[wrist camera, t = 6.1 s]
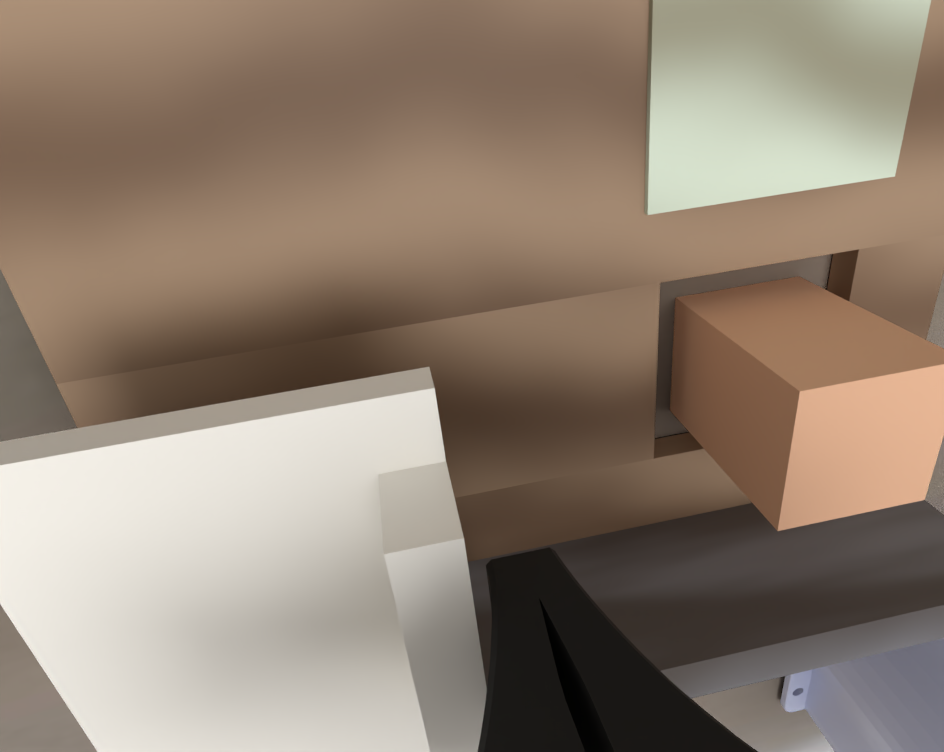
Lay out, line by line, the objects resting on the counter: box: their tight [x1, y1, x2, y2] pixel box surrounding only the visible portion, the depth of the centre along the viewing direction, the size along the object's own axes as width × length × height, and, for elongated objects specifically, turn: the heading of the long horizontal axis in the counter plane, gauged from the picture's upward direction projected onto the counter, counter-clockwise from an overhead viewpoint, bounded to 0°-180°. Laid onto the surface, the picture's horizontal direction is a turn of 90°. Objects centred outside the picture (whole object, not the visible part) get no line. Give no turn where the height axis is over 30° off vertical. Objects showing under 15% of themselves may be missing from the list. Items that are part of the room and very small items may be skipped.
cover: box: [0, 367, 487, 752], centre depth 12 cm, size 12×8×3 cm, turn 7°
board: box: [0, 0, 944, 698], centre depth 15 cm, size 21×25×6 cm
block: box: [670, 277, 944, 531], centre depth 17 cm, size 4×4×6 cm
